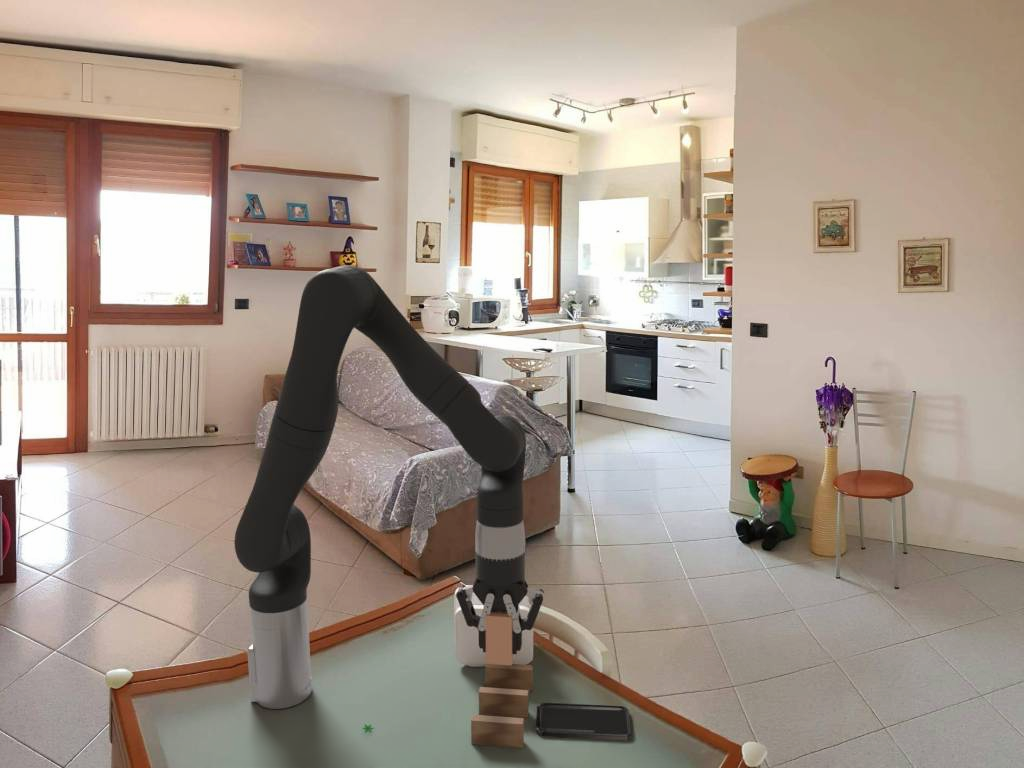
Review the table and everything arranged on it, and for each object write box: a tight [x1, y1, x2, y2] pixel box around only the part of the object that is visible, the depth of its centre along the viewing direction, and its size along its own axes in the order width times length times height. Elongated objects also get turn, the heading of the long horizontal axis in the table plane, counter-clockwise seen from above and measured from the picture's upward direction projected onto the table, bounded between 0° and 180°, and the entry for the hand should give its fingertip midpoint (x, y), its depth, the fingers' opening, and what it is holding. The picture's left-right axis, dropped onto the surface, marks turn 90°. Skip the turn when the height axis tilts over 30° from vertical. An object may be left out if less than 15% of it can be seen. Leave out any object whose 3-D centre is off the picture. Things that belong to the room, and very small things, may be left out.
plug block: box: [486, 611, 514, 666], centre depth 121 cm, size 4×4×8 cm
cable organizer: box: [453, 584, 534, 668], centre depth 145 cm, size 15×11×12 cm
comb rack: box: [470, 664, 534, 748], centre depth 127 cm, size 8×16×4 cm, turn 173°
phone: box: [535, 702, 632, 741], centre depth 125 cm, size 8×1×15 cm
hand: (500, 650), depth 121 cm, fingers closed on plug block, 4 cm apart
